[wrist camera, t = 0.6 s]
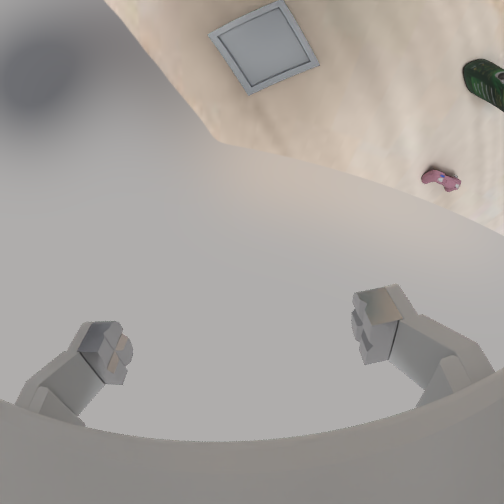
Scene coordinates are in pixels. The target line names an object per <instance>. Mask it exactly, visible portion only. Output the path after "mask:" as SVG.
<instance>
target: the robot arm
mask: <svg viewBox="0 0 504 504" xmlns="http://www.w3.org/2000/svg"><path fill="white" fill-rule="evenodd" d="M353 304H354V307H355V309H354V311H353V312H352V320H351V321H352V329H353V333H354V336H355V339H356V340H357V341H359V342H360V347H359V350H360V353H361V356H362V359H363V361H364V364H365V365H367V364H371V363H376V362H380V361H385V360H389V362H391V363H392V364H393V365H394V366H396V367H397V368H398V369H399V370H401V371H402V372H403V373H404V374H406V375H407V376H408V377H409V378H410V379H412V380H413V381H414V382H415V383H417V384H418V385H419V386H420V387H421V388H423V389H424V390H425V391H424V393H423V395H422V397H421V398H420V400H419V402H418V403H417V405H416V407H417V408H415V409H412V410H409V411H406V412H403V413H400V414H396V415H393V416H390V417H387V418H383V419H380V420H376V421H372V422H369V423H365V424H361V425H356V426H353V427H348V428H343V429H338V430H333V431H328V432H323V433H317V434H310V435H304V436H296V437H289V438H279V439H269V440H257V441H238V442H237V441H236V442H235V441H234V442H199V441H198V442H197V441H177V440H164V439H154V438H144V437H137V436H130V435H124V434H118V433H111V432H107V431H102V430H96V429H92V428H87V427H85V423H84V422H83V421H82V420H81V419H80V418H78V417H77V416H78V415H79V414H80V413H81V412H82V410H83V409H84V408H85V407H86V406H87V405H88V404H89V403H90V401H91V400H92V399H93V398H94V397H95V396H96V394H98V392H99V391H100V390H101V389H102V388H103V387H104V386H105V384H116V385H123V382H124V379H125V376H126V374H127V369H126V365H128V364H129V363H130V362H131V359H132V356H133V348H132V344H131V342H130V340H129V338H128V337H127V336H125V335H123V334H122V332H123V328H122V327H121V325H120V324H119V323H118V322H116V321H105V322H104V321H103V322H85V323H83V324H82V325H81V327H80V329H79V330H78V332H77V334H76V336H75V337H74V339H73V341H72V343H71V344H70V346H69V348H68V350H67V351H64V352H62V353H61V354H60V355H59V356H57V357H56V358H55V359H54V360H52V361H51V362H50V363H48V364H47V365H46V366H45V367H44V368H42V369H41V370H40V371H38V372H37V373H36V374H35V375H34V376H32V377H31V378H30V379H29V380H27V381H26V383H25V385H24V387H23V389H22V391H21V393H20V395H19V397H18V399H17V401H16V403H15V405H14V404H11V403H9V402H6V401H4V400H2V399H0V504H504V368H502V369H501V370H499V371H497V372H495V371H494V369H493V368H492V366H491V364H490V362H489V361H488V359H487V357H486V356H485V354H484V353H483V351H482V350H481V348H480V346H479V345H478V343H476V342H474V341H472V340H470V339H469V338H467V337H465V336H463V335H461V334H459V333H457V332H455V331H453V330H451V329H450V328H447V327H446V326H444V325H442V324H440V323H438V322H436V321H434V320H432V319H430V318H428V317H426V316H424V315H423V314H422V315H418V314H417V312H416V311H415V309H414V308H413V306H412V304H411V303H410V301H409V300H408V298H407V297H406V295H405V294H404V292H403V291H402V289H401V288H400V286H399V285H398V284H393V285H388V286H384V287H381V288H376V289H371V290H366V291H361V292H356V293H354V295H353Z"/></svg>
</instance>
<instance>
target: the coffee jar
mask: <svg viewBox="0 0 504 504" xmlns="http://www.w3.org/2000/svg"><path fill="white" fill-rule="evenodd" d="M464 78H465V82H466V85H467V87H468V89H469V91H470V92H471V93H473V94H475V95H476V96H478V97H480V98H482V99H484V100H485V101H487V102H489V103H491V104H492V105H494V106H496V107H497V108H499V109H500V110H502V111H503V112H504V69H502V68H500V67H499V66H497V65H495V64H494V63H492V62H490V61H488V60H485V59H480V60H476V61H473V62H470V63H468V64H467V65H466V66H465V68H464Z"/></svg>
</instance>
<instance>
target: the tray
mask: <svg viewBox="0 0 504 504" xmlns="http://www.w3.org/2000/svg"><path fill="white" fill-rule="evenodd" d="M208 36H209V38H210V39H211V40H212V42H213V43H214V45H215V46H216V48H217V49H218V50H219V52H220V53H221V55H222V56H223V58H224V59H225V61H226V62H227V64H228V65H229V66H230V68H231V69H232V71H233V72H234V74H235V76H236V77H237V79H238V80H239V82H240V83H241V85H242V86H243V88H244V89H245V91H246V93H247V94H248V96H249V95H251V94H253V93H255V92H258V91H260V90H262V89H264V88H266V87H268V86H271V85H273V84H275V83H277V82H280V81H282V80H284V79H287V78H289V77H291V76H294V75H296V74H299V73H301V72H304V71H306V70H309V69H311V68H314V67H317V66H319V65H320V64H319V62H318V60H317V58H316V56H315V55H314V53H313V51H312V49H311V47H310V45H309V43H308V41H307V40H306V38H305V36H304V34H303V32H302V31H301V29H300V27H299V25H298V24H297V22H296V20H295V19H294V17H293V15H292V14H291V12H290V10H289V9H288V7H287V6H286V4H285V2H284V1H283V0H278V1H276V2H273V3H271V4H268V5H266V6H264V7H261V8H259V9H257V10H254V11H252V12H250V13H248V14H246V15H244V16H242V17H240V18H238V19H236V20H234V21H232V22H230V23H228V24H226V25H224V26H222V27H220V28H218V29H217V30H215V31H213V32H211V33H209V34H208Z"/></svg>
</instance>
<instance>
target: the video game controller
mask: <svg viewBox="0 0 504 504" xmlns="http://www.w3.org/2000/svg"><path fill="white" fill-rule="evenodd" d="M453 176H455V177H450V176H447V175H445V173H442V172H441V171H438V170H431V171H429V172H427V173H425V174H424V175H423V176H422V182H423V183H424V184H427V183H429V182H437V183H439V184H442V185H443V186H445V190H446V191H447V192H450V191H453V190H457V189H458V188H459V187H460V184H461V180H459V179H458V178H457V177H458V176H456V175H453Z"/></svg>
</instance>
